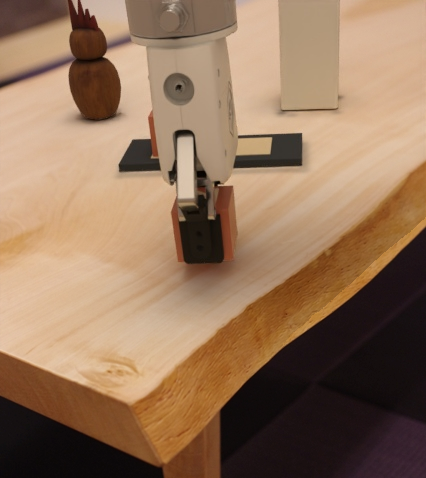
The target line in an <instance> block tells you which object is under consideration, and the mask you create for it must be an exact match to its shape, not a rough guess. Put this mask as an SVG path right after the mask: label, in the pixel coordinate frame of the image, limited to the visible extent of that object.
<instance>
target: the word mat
mask: <svg viewBox="0 0 426 478" xmlns="http://www.w3.org/2000/svg"><path fill="white" fill-rule="evenodd" d="M302 165H303V133H302V132H291V133H290V132H288V133H287V132H286V133H264V134H262V133H261V134H260V133H259V134H238V146H237V151H236V156H235V161H234V166H233V169H234V168H253V167H254V168H261V167H263V168H265V167H291V166H292V167H293V166H295V167H296V166H302ZM118 171H119V172H136V171H137V172H139V171H141V172H142V171H161V167H160V162H159V156H153V152H152V144H151V138H135V139H134V138H133V139H132V140H131V141H130V143H129V145H128V146H127V149H126V150H125V152H124V154H123V156H122V157H121V159H120V161H119V163H118Z"/></svg>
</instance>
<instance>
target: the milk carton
mask: <svg viewBox="0 0 426 478" xmlns="http://www.w3.org/2000/svg"><path fill="white" fill-rule="evenodd" d="M277 3H278V5H277V7H278V38H279V39H278V40H279V41H278V42H279V70H280V71H279V72H280V73H279V74H280V107H281V110H282V111H293V110H294V111H296V110H297V111H298V110H330V109H331V110H332V109H338V107H339V92H340V91H339V90H340V32H341V31H340V25H341V23H340V21H341V18H340V17H341V16H340V15H341V0H277Z"/></svg>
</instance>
